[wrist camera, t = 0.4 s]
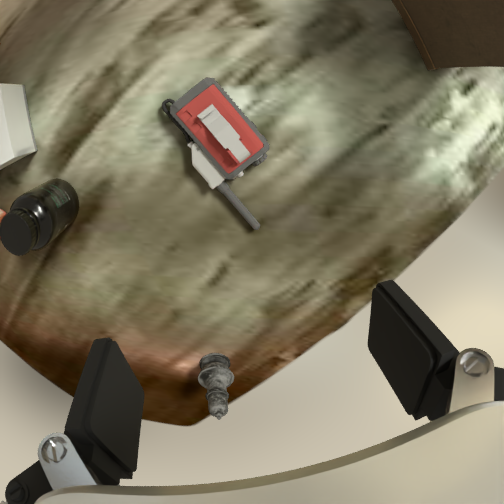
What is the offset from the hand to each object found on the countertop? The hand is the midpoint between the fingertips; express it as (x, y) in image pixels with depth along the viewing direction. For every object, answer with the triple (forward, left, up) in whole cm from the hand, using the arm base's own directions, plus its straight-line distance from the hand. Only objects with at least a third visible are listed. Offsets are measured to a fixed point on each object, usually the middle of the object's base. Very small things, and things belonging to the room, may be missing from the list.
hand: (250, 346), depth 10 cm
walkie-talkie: (-3, +2, -31) cm, 31 cm away
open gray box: (-16, -29, -30) cm, 45 cm away
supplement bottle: (-3, -22, -30) cm, 38 cm away
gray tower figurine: (+30, -8, -30) cm, 44 cm away
